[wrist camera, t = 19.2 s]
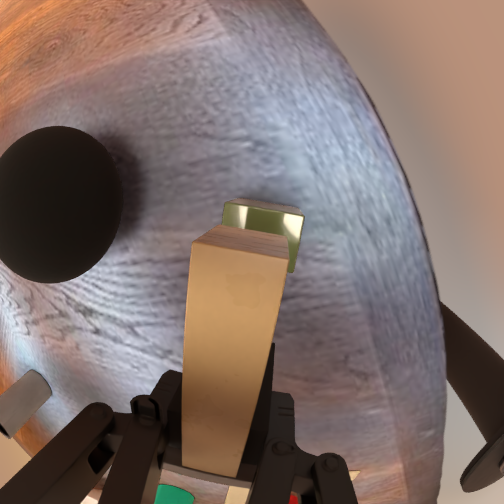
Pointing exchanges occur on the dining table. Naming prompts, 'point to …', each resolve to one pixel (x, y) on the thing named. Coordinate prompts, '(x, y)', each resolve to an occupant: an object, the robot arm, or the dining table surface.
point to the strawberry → (293, 500)
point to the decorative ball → (57, 204)
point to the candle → (172, 495)
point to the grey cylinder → (22, 402)
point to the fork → (226, 349)
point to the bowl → (92, 497)
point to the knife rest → (267, 221)
